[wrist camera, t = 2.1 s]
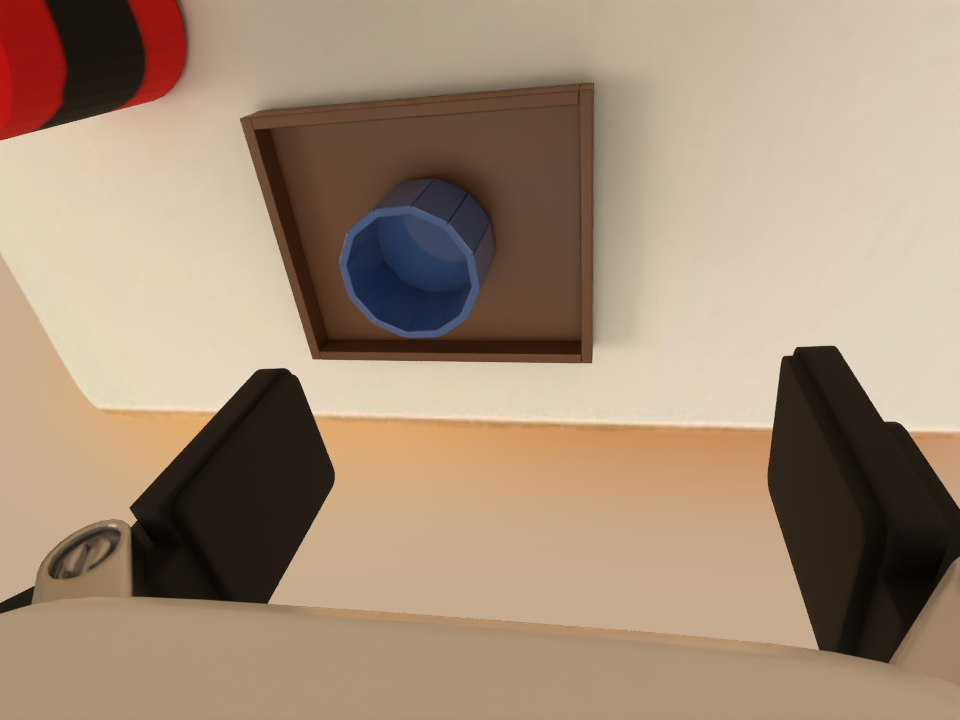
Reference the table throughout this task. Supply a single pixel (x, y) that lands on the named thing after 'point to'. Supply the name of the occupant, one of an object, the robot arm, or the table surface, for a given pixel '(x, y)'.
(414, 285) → the bowl
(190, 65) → the table surface
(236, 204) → the table surface
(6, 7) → the soda can
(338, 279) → the tray
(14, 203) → the table surface
